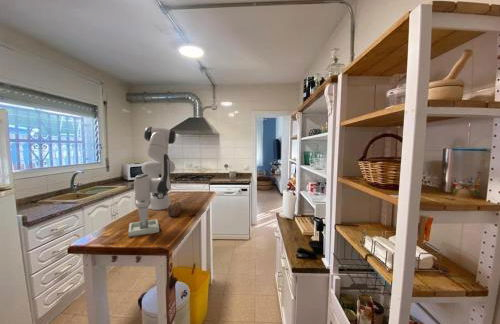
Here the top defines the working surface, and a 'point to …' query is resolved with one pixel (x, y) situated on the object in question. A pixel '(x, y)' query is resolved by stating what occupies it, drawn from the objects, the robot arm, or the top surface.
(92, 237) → the top surface
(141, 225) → the matte grey cube
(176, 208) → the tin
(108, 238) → the top surface
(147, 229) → the dish
